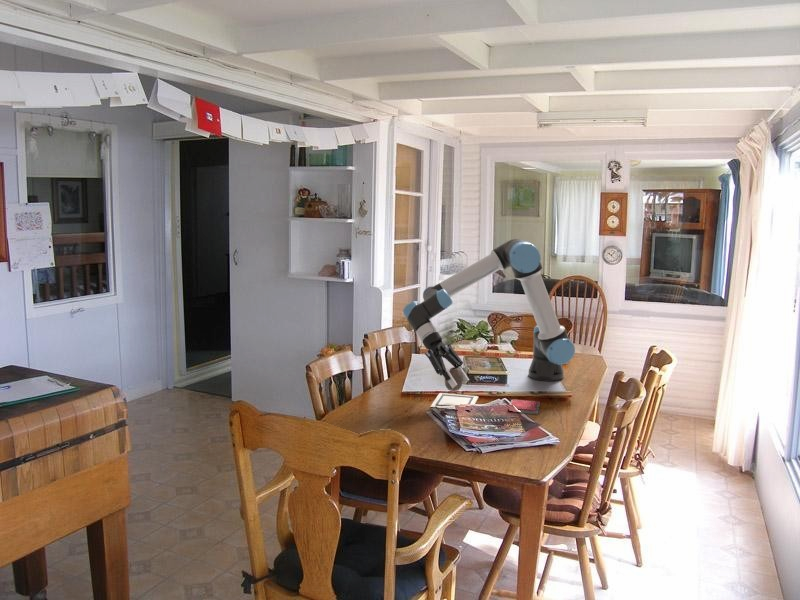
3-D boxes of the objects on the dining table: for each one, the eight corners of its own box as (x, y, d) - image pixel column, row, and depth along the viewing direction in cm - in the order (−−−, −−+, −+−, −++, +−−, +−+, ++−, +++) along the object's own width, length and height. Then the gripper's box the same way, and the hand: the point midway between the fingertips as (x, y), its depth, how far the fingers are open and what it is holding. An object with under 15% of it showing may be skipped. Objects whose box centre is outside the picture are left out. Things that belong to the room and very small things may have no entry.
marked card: (478, 397, 276) (478, 395, 276) (471, 411, 261) (471, 409, 261) (439, 394, 280) (439, 392, 280) (430, 407, 265) (430, 405, 265)
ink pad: (539, 404, 268) (539, 401, 267) (537, 414, 257) (537, 410, 257) (511, 401, 271) (511, 398, 270) (507, 411, 260) (507, 408, 260)
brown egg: (464, 392, 267) (464, 370, 265) (446, 393, 266) (447, 371, 264) (459, 386, 273) (460, 365, 271) (443, 387, 272) (443, 366, 270)
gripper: (440, 336, 283) (470, 383, 276) (407, 346, 269) (439, 395, 262) (450, 326, 279) (481, 373, 271) (417, 335, 265) (450, 385, 257)
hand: (460, 384), depth 266 cm, fingers closed on brown egg, 7 cm apart
